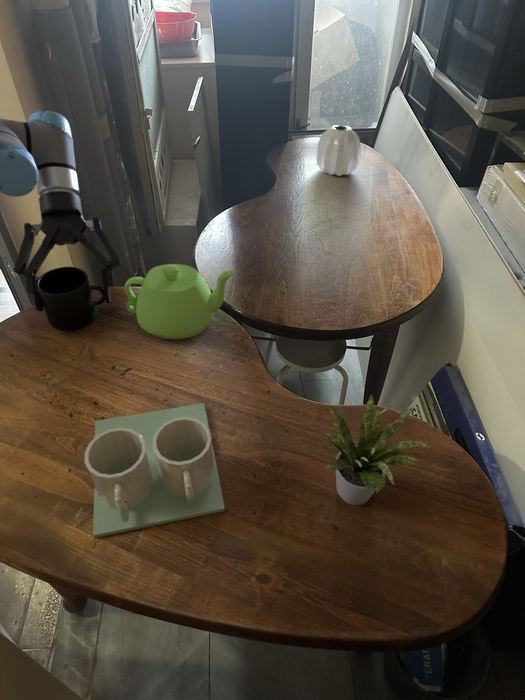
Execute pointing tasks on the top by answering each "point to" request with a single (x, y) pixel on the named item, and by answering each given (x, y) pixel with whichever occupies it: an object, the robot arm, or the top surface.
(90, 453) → the cream mug left
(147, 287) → the teapot
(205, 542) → the top surface
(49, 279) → the mug
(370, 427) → the house plant
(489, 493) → the top surface
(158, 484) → the mug mat
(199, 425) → the cream mug right
